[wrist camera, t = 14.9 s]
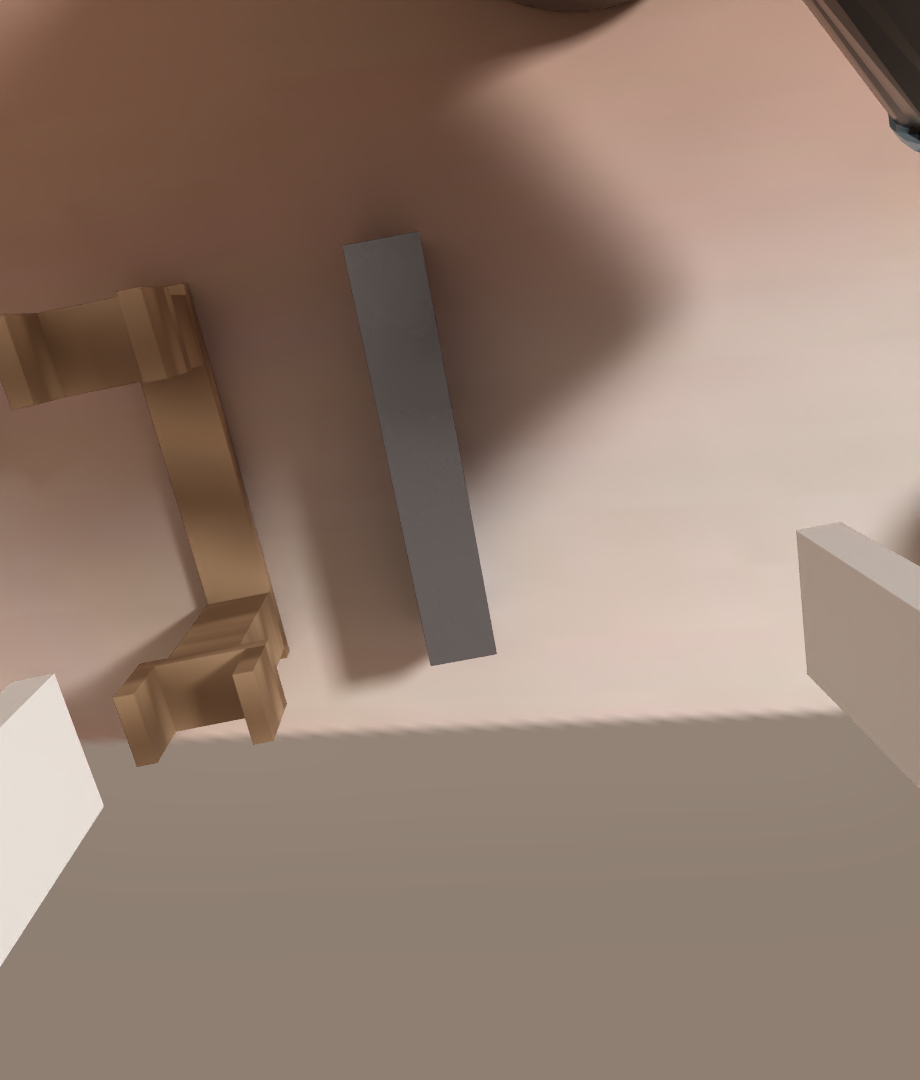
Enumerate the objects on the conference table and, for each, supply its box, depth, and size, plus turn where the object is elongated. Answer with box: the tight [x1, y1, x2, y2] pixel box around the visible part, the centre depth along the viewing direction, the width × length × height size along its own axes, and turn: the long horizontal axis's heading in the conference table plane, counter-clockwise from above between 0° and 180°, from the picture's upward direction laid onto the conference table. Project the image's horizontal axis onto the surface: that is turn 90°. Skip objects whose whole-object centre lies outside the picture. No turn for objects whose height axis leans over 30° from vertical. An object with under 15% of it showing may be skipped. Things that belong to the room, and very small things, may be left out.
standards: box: [0, 283, 289, 767], centre depth 34 cm, size 18×5×10 cm, turn 11°
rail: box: [342, 231, 497, 666], centre depth 36 cm, size 18×3×5 cm, turn 10°
